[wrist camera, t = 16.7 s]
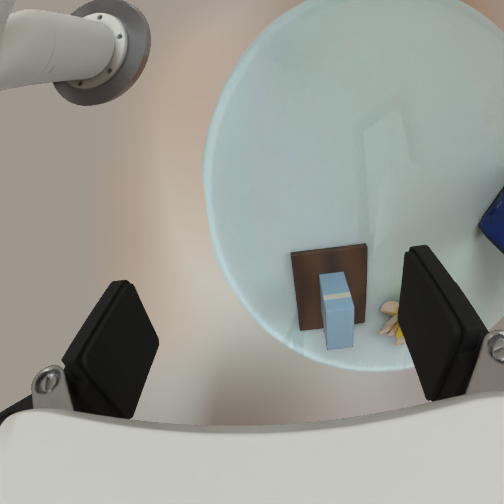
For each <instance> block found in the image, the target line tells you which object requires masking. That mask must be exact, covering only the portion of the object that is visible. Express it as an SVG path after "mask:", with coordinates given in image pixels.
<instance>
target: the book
mask: <svg viewBox="0 0 504 504" xmlns="http://www.w3.org/2000/svg"><path fill="white" fill-rule="evenodd" d="M478 226H479V227H480V229H481V231H482V232H483V233H484V235H485V236H486V237H487V238H488V239H489V240H490V241H491V242H492V243H493V244H494V245H495V246H496V247H497V248H498V249H499V250H500V251H501V252H502V253H503V254H504V187H503V189H502V190H501V191H500V193H499V194H498V195H497V197H496V198H495V200H494V201H493V203H492V204H491V206H490V207H489V208H488V210H487V211H486V212H485V214H484V216H483V218H482V220H481V221H480V223H479V224H478Z"/></svg>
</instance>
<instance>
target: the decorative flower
mask: <svg viewBox="0 0 504 504" xmlns="http://www.w3.org/2000/svg"><path fill="white" fill-rule="evenodd" d="M398 308H399V303H398V302H395V301H388V302H386V303H384V304H383V305H382V307H381V309H380V311H382V312H384V313H386V314H388V315H390V316H393V317H392V318H391V319H389V320H388V321H387V322H386V324H385V325H384V326H383V327H382V329H381V330H380V331H379V332H378V333H379V334H384V333H386V332H388V331H389V330H390V331H389V333H388V335H387V336H393V335H395V334H396V336H395V337H396V346H397V345H401V344H404V343H405V342H406V341H405V339H404V336H403V334H402V331H401V329H400V326H399V323H398Z"/></svg>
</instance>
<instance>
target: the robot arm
mask: <svg viewBox="0 0 504 504" xmlns="http://www.w3.org/2000/svg"><path fill="white" fill-rule="evenodd" d="M15 1H16V0H0V91H2V90H6V89H10V88H16V87H21V86H27V85H33V84H42V83H48V82H58V81H66V82H67V83H69V84H70V85H71V86H73V87H76V88H81V89H89V88H94V87H97V86H100V85H102V84H104V83H105V82H107V81H108V80H109V79H110V78H111V77H113V76H114V74H115V73H116V72H117V71H118V70H119V68H120V66H121V64H122V63H123V60H124V58H125V55H126V51H127V43H128V40H127V33H126V30H125V27H124V26H123V24H122V23H121V22H120V21H119V20H118V19H117V18H116V17H114V16H112V15H109V14H105V13H94V14H91V15H87V16H85V17H83V18H80V17H76V16H71V15H66V14H61V13H54V12H49V11H42V10H35V9H27V10H22V11H18V12H15V13H12V14H10V12H11V10H12V7H13V5H14V3H15ZM121 36H122V38H121ZM111 70H112V71H111ZM398 323H399V326H400V329H401V331H402V334H403V336H404V339H405V341H406V344H407V347H408V349H409V352H410V355H411V357H412V360H413V363H414V365H415V368H416V371H417V374H418V376H419V380H420V382H421V385H422V388H423V391H424V394H425V397H426V399H427V400H431V401H432V402H429V403H425V404H421V405H416V406H412V407H407V408H402V409H397V410H392V411H387V412H381V413H375V414H369V415H363V416H357V417H350V418H343V419H336V420H328V421H318V422H307V423H297V424H296V423H295V424H282V425H281V424H280V425H258V426H208V425H185V424H169V423H158V422H147V421H138V420H130V418H132V417H133V415H134V412H135V410H136V407H137V404H138V401H139V398H140V395H141V392H142V390H143V387H144V384H145V382H146V379H147V376H148V373H149V371H150V368H151V365H152V363H153V360H154V357H155V355H156V352H157V349H158V346H159V339H158V336H157V334H156V332H155V330H154V328H153V326H152V324H151V322H150V320H149V317H148V315H147V313H146V311H145V309H144V307H143V305H142V302H141V300H140V298H139V296H138V293H137V291H136V289H135V287H134V285H133V284H130V282H129V281H127V280H121V281H113V282H112V283H111V284H110V285H109V286H108V288H107V289H106V291H105V292H104V294H103V295H102V297H101V298H100V300H99V301H98V303H97V304H96V306H95V307H94V309H93V310H92V312H91V313H90V315H89V316H88V318H87V319H86V321H85V323H84V324H83V326H82V327H81V329H80V331H79V332H78V334H77V335H76V337H75V338H74V340H73V342H72V343H71V345H70V346H69V348H68V350H67V351H66V353H65V355H64V356H63V358H62V362H63V363H64V365H65V368H64V370H63V369H62V368H61V367H60V366H57V365H52V366H48V367H46V368H44V369H43V370H41V371H40V372H39V373H38V374H37V375H36V376H35V378H34V380H33V382H32V388H31V390H32V394H31V395H29V396H27V397H26V398H24V399H22V400H21V401H19V402H17V403H15V404H14V405H12V406H10V407H9V408H7V409H5V410H4V411H2V412H1V413H0V504H504V330H494V331H491V332H488V330H487V328H486V327H485V325H484V324H483V322H482V320H481V319H480V317H479V316H478V314H477V313H476V311H475V310H474V308H473V307H472V305H471V304H470V302H469V301H468V299H467V298H466V296H465V295H464V293H463V292H462V290H461V289H460V287H459V286H458V285H457V283H456V282H455V281H454V280H453V279H452V277H451V276H450V275H449V273H448V272H447V270H446V269H445V268H444V266H443V265H442V264H441V262H440V261H439V260H438V258H437V257H436V256H435V254H434V253H433V252H432V251H431V249H430V248H429V247H428V246H427V245H421V246H413V247H410V249H409V252H405V255H404V265H403V275H402V284H401V293H400V301H399V308H398Z"/></svg>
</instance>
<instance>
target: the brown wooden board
mask: <svg viewBox="0 0 504 504" xmlns="http://www.w3.org/2000/svg"><path fill="white" fill-rule="evenodd" d="M291 259H292V267H293V275H294V283H295V291H296V299H297V308H298V316H299V325H300V331H303V330H311V329H320V328H324V326H323V319H322V313H321V297H320V282H319V275H320V274H328V273H336V272H344V275H345V278H346V281H347V284H348V288H349V291H350V294H351V298H352V301H353V304H354V324H358V323H364V322H365V307H366V286H367V245H366V243H365V244H357V245H349V246H341V247H333V248H324V249H316V250H308V251H300V252H292V253H291Z"/></svg>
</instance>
